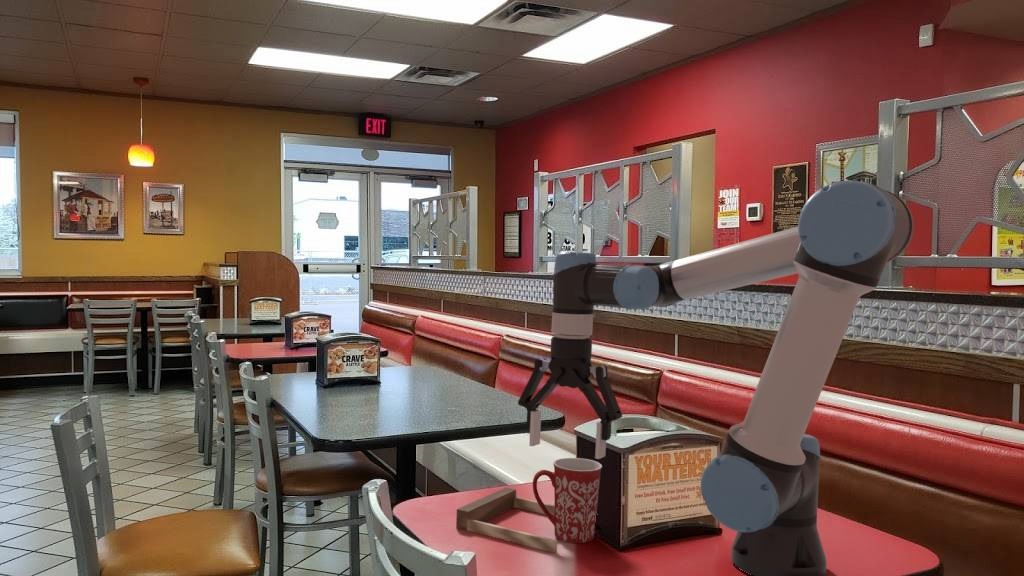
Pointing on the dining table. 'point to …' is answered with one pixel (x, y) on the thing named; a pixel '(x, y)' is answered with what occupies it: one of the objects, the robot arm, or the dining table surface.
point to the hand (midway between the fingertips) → (566, 451)
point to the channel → (494, 504)
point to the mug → (573, 498)
